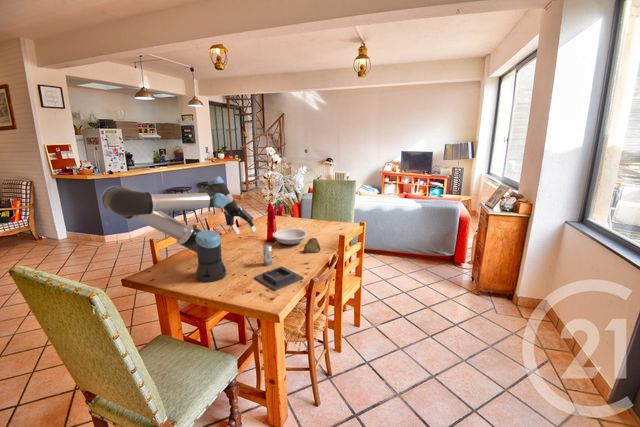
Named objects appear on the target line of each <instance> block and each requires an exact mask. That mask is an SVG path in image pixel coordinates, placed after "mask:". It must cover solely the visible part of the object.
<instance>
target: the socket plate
mask: <svg viewBox="0 0 640 427" xmlns="http://www.w3.org/2000/svg"><path fill="white" fill-rule="evenodd" d="M254 279H255V280H256V281H258V282H259V283H262V284H263V285H264V286H267V287H270V288H269V289H271V290H272V291H274V292H275V291H278V290H281V289H283V288H285V287H288V286H291V285H292V284H295V283H297V281H298V282H300V281H302V280H304V279H305V278H304V276H302V275H301V274H298V273H296V272H294V271H292V270H290V269H288V268H287V267H284V266H279V267H275V268H274V269H270V270H266V271H265V272H262V273H261V274H258V275H255V276H254ZM299 280H300V281H299Z"/></svg>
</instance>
